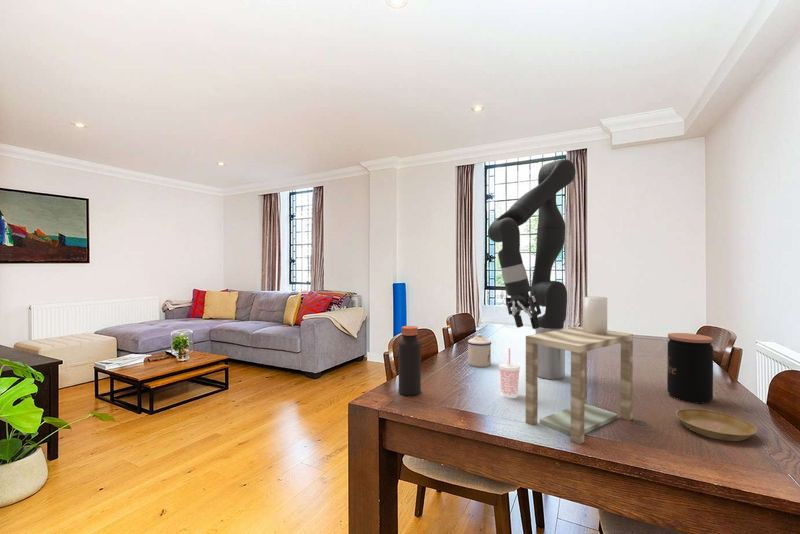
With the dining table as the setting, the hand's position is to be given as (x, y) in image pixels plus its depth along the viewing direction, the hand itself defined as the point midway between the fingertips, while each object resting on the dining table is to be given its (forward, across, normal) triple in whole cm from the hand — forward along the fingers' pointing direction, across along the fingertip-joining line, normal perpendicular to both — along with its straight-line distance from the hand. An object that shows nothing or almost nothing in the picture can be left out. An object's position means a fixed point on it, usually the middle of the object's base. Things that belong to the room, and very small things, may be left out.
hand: (527, 327), depth 123 cm
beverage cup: (+16, -5, +16) cm, 23 cm away
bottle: (+9, +6, +42) cm, 43 cm away
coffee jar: (+29, -22, -32) cm, 49 cm away
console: (+20, -26, +10) cm, 34 cm away
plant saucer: (+27, -40, -16) cm, 51 cm away
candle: (0, -26, -2) cm, 26 cm away
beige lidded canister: (+15, +30, +6) cm, 34 cm away
